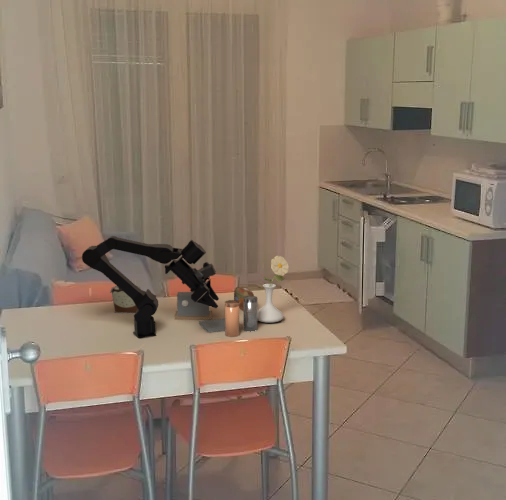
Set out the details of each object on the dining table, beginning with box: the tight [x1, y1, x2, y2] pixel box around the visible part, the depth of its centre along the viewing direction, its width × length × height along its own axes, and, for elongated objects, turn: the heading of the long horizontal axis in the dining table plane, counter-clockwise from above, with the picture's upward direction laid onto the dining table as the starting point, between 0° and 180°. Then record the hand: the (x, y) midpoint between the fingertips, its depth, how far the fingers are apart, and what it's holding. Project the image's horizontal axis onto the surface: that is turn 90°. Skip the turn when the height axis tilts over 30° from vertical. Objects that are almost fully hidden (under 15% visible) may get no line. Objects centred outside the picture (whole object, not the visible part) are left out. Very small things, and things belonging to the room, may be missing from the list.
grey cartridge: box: [242, 295, 258, 333], centre depth 250 cm, size 5×5×12 cm
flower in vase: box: [257, 255, 290, 323], centre depth 259 cm, size 13×11×25 cm
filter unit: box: [174, 291, 213, 321], centre depth 265 cm, size 14×8×9 cm, turn 92°
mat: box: [198, 317, 225, 334], centre depth 254 cm, size 11×11×1 cm
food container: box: [109, 285, 141, 315], centre depth 271 cm, size 12×6×10 cm, turn 84°
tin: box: [233, 286, 255, 312], centre depth 275 cm, size 15×3×8 cm, turn 25°
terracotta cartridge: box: [224, 299, 240, 338], centre depth 244 cm, size 5×5×12 cm
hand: (217, 303), depth 243 cm, fingers open, 9 cm apart
